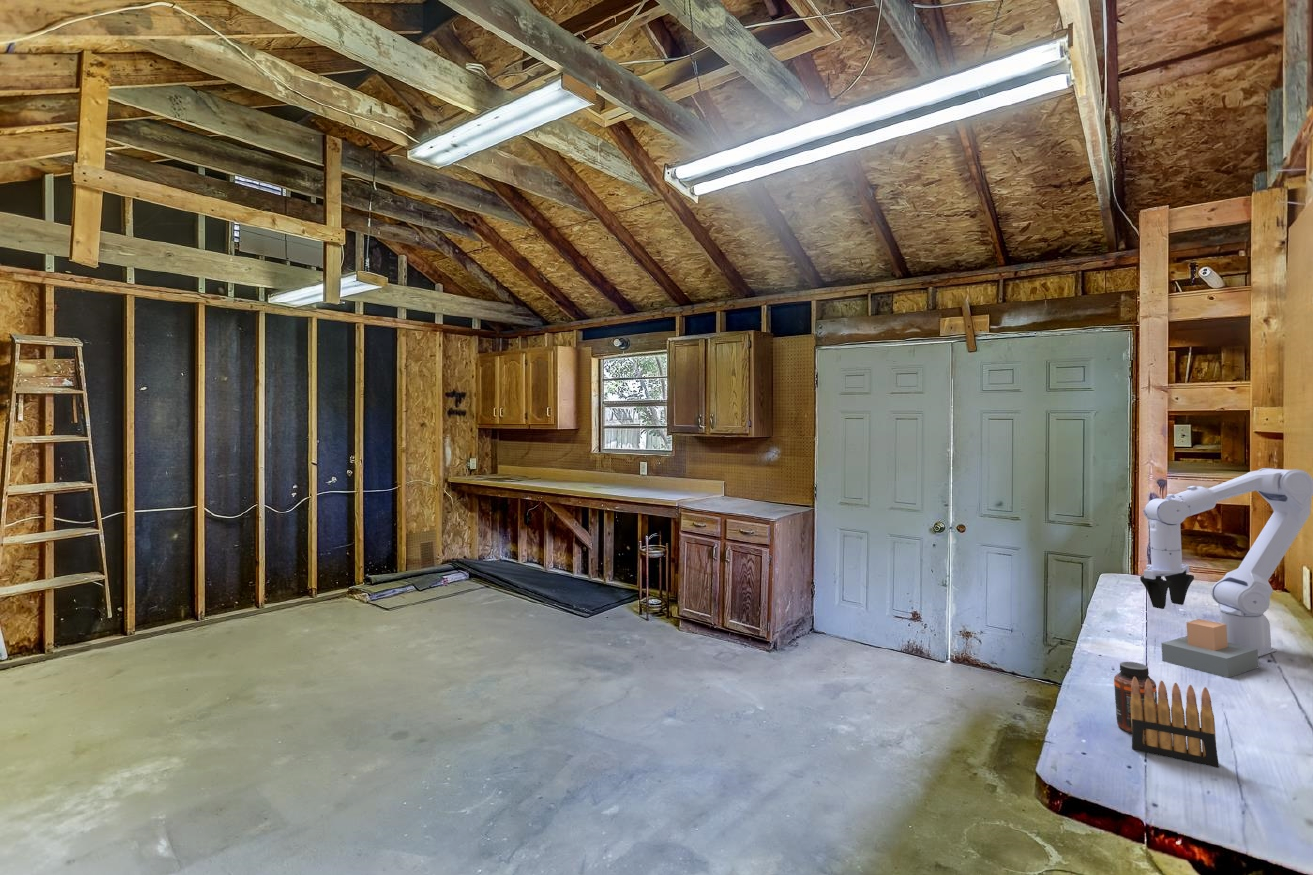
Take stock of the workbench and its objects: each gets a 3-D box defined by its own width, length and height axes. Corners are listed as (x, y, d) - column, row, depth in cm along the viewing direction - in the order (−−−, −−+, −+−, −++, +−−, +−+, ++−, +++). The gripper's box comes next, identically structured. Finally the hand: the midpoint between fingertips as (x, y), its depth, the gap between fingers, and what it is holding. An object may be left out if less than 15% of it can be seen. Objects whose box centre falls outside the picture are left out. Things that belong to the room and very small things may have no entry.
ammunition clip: (1132, 749, 102) (1127, 677, 102) (1132, 745, 103) (1127, 673, 103) (1219, 768, 95) (1214, 690, 95) (1217, 763, 96) (1212, 686, 97)
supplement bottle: (1167, 738, 105) (1163, 671, 105) (1128, 736, 106) (1124, 670, 106) (1147, 722, 111) (1143, 659, 111) (1110, 721, 112) (1106, 658, 112)
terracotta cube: (1200, 640, 140) (1199, 618, 140) (1227, 647, 135) (1226, 624, 135) (1187, 644, 138) (1186, 622, 138) (1215, 650, 133) (1213, 627, 133)
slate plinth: (1192, 651, 144) (1191, 634, 144) (1258, 667, 133) (1257, 649, 133) (1162, 660, 140) (1161, 643, 140) (1228, 677, 129) (1226, 658, 129)
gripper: (1164, 544, 153) (1166, 598, 153) (1128, 549, 148) (1131, 605, 147) (1198, 548, 147) (1201, 604, 147) (1162, 553, 141) (1164, 612, 141)
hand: (1168, 605), depth 147 cm, fingers open, 7 cm apart
